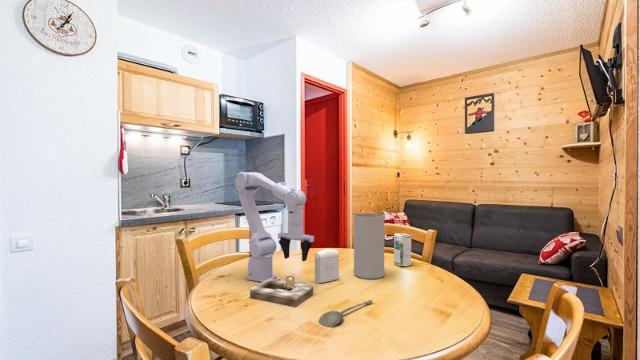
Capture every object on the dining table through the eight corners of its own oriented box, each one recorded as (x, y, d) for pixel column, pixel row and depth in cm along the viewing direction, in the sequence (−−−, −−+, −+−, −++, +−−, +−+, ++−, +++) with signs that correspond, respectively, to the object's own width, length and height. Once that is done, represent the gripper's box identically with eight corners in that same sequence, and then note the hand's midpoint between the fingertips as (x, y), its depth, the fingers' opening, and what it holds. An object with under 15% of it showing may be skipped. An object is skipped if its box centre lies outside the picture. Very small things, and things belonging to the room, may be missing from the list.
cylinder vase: (382, 270, 135) (382, 213, 135) (385, 280, 123) (385, 217, 122) (353, 269, 136) (353, 213, 136) (354, 279, 124) (354, 216, 124)
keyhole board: (250, 297, 105) (250, 288, 105) (270, 286, 116) (270, 278, 116) (296, 307, 97) (296, 297, 97) (313, 294, 108) (313, 285, 108)
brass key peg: (280, 296, 105) (280, 278, 105) (288, 291, 109) (288, 274, 109) (291, 298, 102) (291, 280, 102) (299, 294, 107) (299, 276, 107)
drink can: (393, 264, 145) (393, 233, 144) (403, 263, 147) (403, 232, 147) (401, 267, 139) (401, 235, 139) (411, 266, 142) (411, 234, 142)
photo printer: (334, 276, 127) (334, 246, 127) (340, 279, 123) (340, 248, 123) (313, 281, 121) (312, 250, 121) (319, 284, 118) (319, 252, 118)
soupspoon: (313, 325, 88) (329, 335, 83) (313, 313, 88) (329, 323, 83) (363, 301, 103) (379, 308, 98) (363, 291, 102) (379, 298, 98)
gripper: (317, 222, 116) (317, 259, 116) (285, 220, 122) (284, 254, 123) (308, 225, 110) (308, 263, 110) (274, 222, 116) (274, 258, 116)
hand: (295, 259), depth 116 cm, fingers open, 7 cm apart
